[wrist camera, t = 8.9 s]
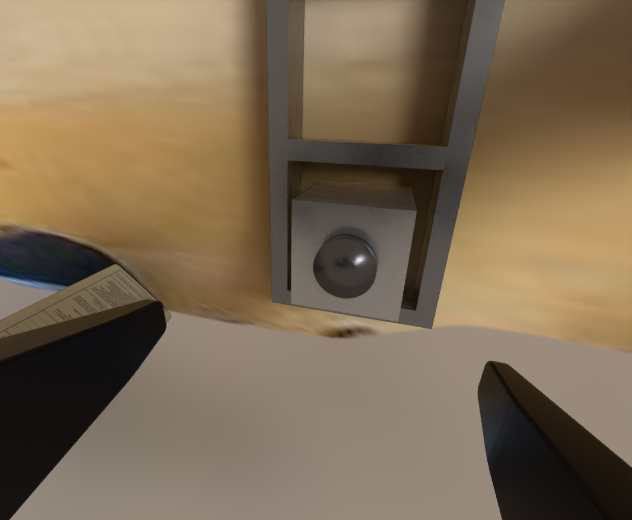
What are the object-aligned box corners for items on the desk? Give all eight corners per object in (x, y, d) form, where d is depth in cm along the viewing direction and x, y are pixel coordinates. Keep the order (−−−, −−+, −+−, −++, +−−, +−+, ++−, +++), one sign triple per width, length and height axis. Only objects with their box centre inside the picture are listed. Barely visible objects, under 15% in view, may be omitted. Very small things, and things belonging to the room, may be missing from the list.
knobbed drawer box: (411, 186, 17) (417, 216, 11) (398, 268, 19) (398, 331, 13) (323, 180, 18) (285, 203, 12) (320, 258, 20) (285, 312, 14)
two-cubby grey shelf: (508, -79, 12) (532, -126, 10) (427, 306, 19) (431, 328, 17) (285, -58, 14) (264, -93, 12) (285, 284, 21) (272, 302, 19)
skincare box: (96, 289, 26) (-121, 401, 15) (118, 260, 24) (-111, 363, 13) (151, 342, 27) (-18, 484, 16) (176, 318, 25) (4, 460, 14)
